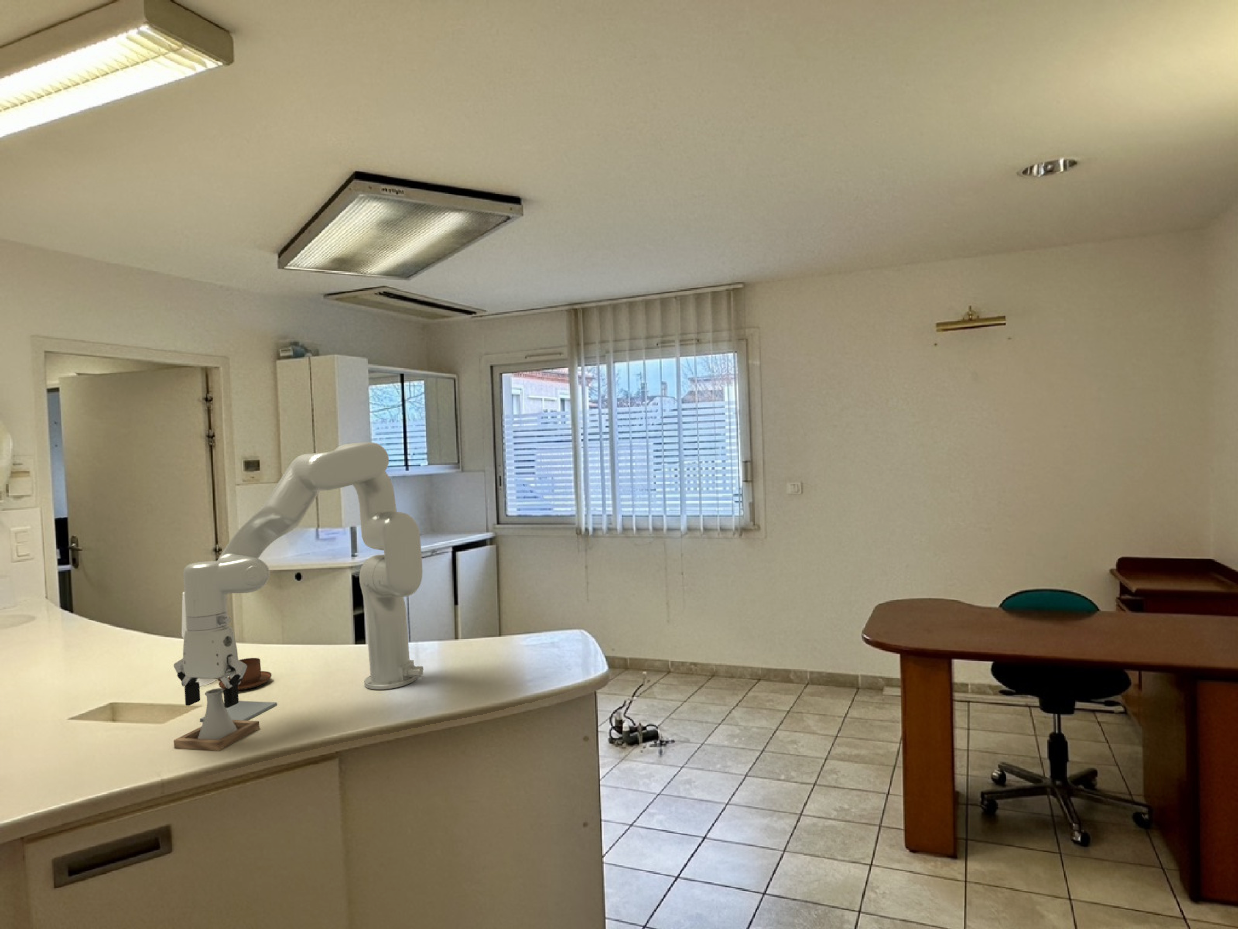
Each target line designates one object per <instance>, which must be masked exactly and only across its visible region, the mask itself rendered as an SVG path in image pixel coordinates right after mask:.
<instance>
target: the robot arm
mask: <svg viewBox="0 0 1238 929" xmlns="http://www.w3.org/2000/svg"><path fill="white" fill-rule="evenodd" d="M389 461H390V459H389V453H388V452H387V451H386V448H384V447H383V446H382V445H381V444H379V443H377V442H371V441H369V442H368V441H367V442H352V443H351V442H350V443H345V444H342V445H339V446H337V447H336V448H335V449H334V450H332V451H326V452H314V453H305V454H300V455H299V456H297V457H296V458H295V459H293V460H292V462H291V463H290V464H289V466H288V467H287V469H286V470H285V472H284V473H283V475H282V476H281V478H280V479H279V481H278V482H277V484H276V485H275V487H274V489H273V490H272V491H271V493H270V494H269V496H268V498H267V499H266V501H265V502H264V503H263V505H262V506H261V508H260V509H259V510H258V511H257V512H255V513H254V514H253V515H252V516H251V517H250V518H249V520H247V521H246V522H245V523H244V524H243V525H242V526H241V527H240V528H239V529H238V530H237V531H236V533H235V534H234V535H233V537H232V538H231V539H230V540H229V542H228V543H227V545H226V546H225V547H224V550H222V552H221V554H220V555H219V557H218V559H217V560H209V561H208V560H207V561H206V560H205V561H200V562H193V563H189V564H188V565H186V566H185V567H184V568H183V588H184V591H183V592H184V593H185V610H186V628H187V630H186V631H185V636H184V639H183V648H182V658H181V659H179V660H178V661H176V662H174V664H173V668H174V670H175V673H177V675H176V676H177V678H178V679H179V680H180V681H181V683H180V684H181V686H182V687H184V701H185V706H186V707H189V706H191V705H194V704H197V703H198V702H200V701H201V690H200V689H201V688H200V687H201V686H199V682H196V681H197V679H198V678H204V679H215V680H218V679H221V681H222V682H223V684H224V685H225V686H226V688H224V690H223V692H222V693H223V702H224V707H225V708H229V707H231V706H233V705H236V704H238V702H239V701H240V700H239V690H238V684H240V683H241V680H242V679H243V678H244V674H245V671H246V669H247V665H246V664H245V663H243V662H241V661H240V660H241V659H239V655H238V654H239V653H238V647H237V643H236V642H237V641H236V636H235V634H234V629H233V627H232V626H230V625H229V624H230V623H231V617H229V615H228V614H229V611H228V595H230V594H248V593H250V594H251V593H254V592H257V591H259V590H261V589H262V588H263V587H264V586H265V585H266V584H267V583H268V581H269V580H270V573H271V572H270V569H269V567H268V565H267V563H266V562H264V561H263V560H262V559H260V557H261V555H262V554H263V553H264V551H265V550H266V549H267V548H268V547H269V546H270V545H271V544H272V543H274V542H275V541H276V540H277V539H280V538H281V537H283V536H285V535H286V534H288V533H290V532H292V531H293V530H295V529H296V528H297V527H298V526H299V525H300V524H301V522H302V520H303V519H304V517H305V516H306V514H307V512H308V510H309V509H310V508H311V506H312V504H313V503H314V501H315V500H316V498H317V496H318V495H319V493H320V492H321V491H323V492H325V491H332V490H333V491H334V490H336V489H341V488H345V487H349V486H353V488H354V489H355V491H356V494H357V497H358V503H359V516H360V530H361V538H362V542H363V543H364V544H365V546H366V547H369V549H373V550H378V551H383V553H384V554H377V555H373V556H371V557H369V558H366V560H365V561H364V562H363V564H362V565H361V567H360V570H359V575H358V576H359V586H360V590H361V594H362V597H363V601H364V608H365V610H364V611H365V618H366V619H365V620H366V633H367V634H366V636H367V647H368V659H369V660H368V661H369V672H370V673H369V674H370V675H368V676H366V678H364V682H363V684H364V687H365V688H367V689H370V690H389V689H395V688H400V687H403V686H407V685H409V684H412V683H413V682H414V681H416V680H417V679H418V677H423V675H424V666H421V665H418V666H415V662H414V660H413V659H410V647H409V646H410V645H409V636H408V634H409V633H408V623H407V622H408V620H407V616H408V615H407V607H406V602H405V601H406V600H405V599H404V598H406V597H410V596H412V595H413V594H415V593H416V592H417V591H418V590H419V589H420V586H421V584H422V580H423V559H422V558H423V557H422V547H421V546H422V544H421V534H420V529H419V525H418V524H417V522H416V520H415V518H413V517H412V516H411V515H410V514H407V513H405V512H402V511H397V504H396V496H395V489H394V485H393V482H392V481H391V478H390V476H389V475H388V473H387V472H386V470H387V469H388V466H389V463H390V462H389ZM235 673H236V674H235ZM228 677H230V678H231V680H229V679H228Z"/></svg>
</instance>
